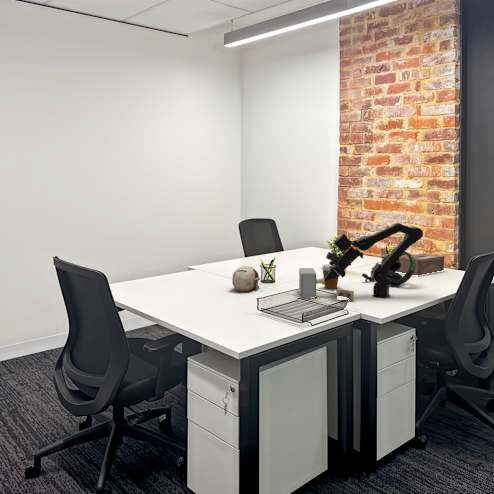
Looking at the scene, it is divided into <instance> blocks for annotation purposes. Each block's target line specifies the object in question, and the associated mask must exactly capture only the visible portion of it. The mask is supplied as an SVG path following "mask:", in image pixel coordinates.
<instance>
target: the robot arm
mask: <svg viewBox="0 0 494 494" xmlns="http://www.w3.org/2000/svg"><path fill="white" fill-rule="evenodd" d="M397 233H402V234H404V236H403V239H402V240H401V241H400V242H399V244H398V245H396V247H395V248H394V249H393V251H392V252H390V253H389V254H388V255H389V256H388V257H387V258H386V259H385V260H384V262H382V261H381V263H378V262H376V263H375V264H374V266H373V267H371V271H370V277H372V278H373V279H374V280H375V281H374V282H375V283H374V284H373V287H372V288H373V289H372V290H373V291H372V292H373V295H372V297H378V298H383V299H385V298H388V297H390V296H391V294H390V285H389V283H390V281H389V280H388V279H387V278H386V276H387V274H388V272H389V269H390V268H391V266H392V265H393V264H394V263H395V262H396V261H397V260H398V259H399V258H400V256H401V255H402V254H403V253H404V252H407V250H408V249H409V248H410V247H411V246H412V245H414V244H416V243H417V242H418V241H420V240H421V239H422V238H423V236H424V232H423V229H422V228H419V227H416V226H407V225H404V224H402V223H399V222H395V223H394V224H393V225H389V226H388V227H386V228H383V229H382V230H379V231H377V232H376V233H374V234H370V235H365V236H362V237H358V238H357V239H356V240H355V239H354V240H351V239H350V238H348V236H346V234H344V233H342V235H340V236H338V237H337V238H336V239H334V241H333V244H334V245H335V246H336V248H338V250H340V252H344V253H343V254H340V255H338V253H335V252H330V251H328V252H327V254H326V257H325V258H326V259H327V260H329V262H328V264H331V265H332V266H330V270H329V272H328V274H327V275H326V277H325V278H324V277H323V278H324V281H328V280H331V279H333V278H336V277H338V278H339V277H341V279H343V278H344V277H345V276H346V273H347V272H346V269H347V268H348V267H349V266H350V267H351V266H352V263H353V262H355V260H356V259H358V257H360V258H361V259H364V252H365V251H368V250H369V249H371V248H372V247H374V245H376V244H377V243H378V242H381V241H382V240H384V239H386V238H389V237H391V236H393V235H395V234H397ZM361 251H362V252H361ZM401 257H402V256H401Z"/></svg>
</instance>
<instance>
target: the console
mask: <svg viewBox="0 0 494 494" xmlns="http://www.w3.org/2000/svg"><path fill="white" fill-rule="evenodd" d="M298 271H299V272H298V276H299V277H298V281H299V282H298V289H300V292H299V295H301V296H300V298H301V299H312V298H311V297H315V296H316V297H317V284H316V279H317V272H316V271H315V269H314V267H300V268H299V270H298Z"/></svg>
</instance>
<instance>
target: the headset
mask: <svg viewBox="0 0 494 494" xmlns="http://www.w3.org/2000/svg"><path fill="white" fill-rule="evenodd" d="M389 255H390V254H388V255H386V256H384V258H383V259H382V261H381V263H382V262H384V260H385V259H386V258H387V257H388V256H389ZM412 255H413V254H411V253H410V252H407V251H405V252H404V253H403V254H402V255H401V256H400V257H403V256H408V258H409V269H408V271H407V272H406V274H399V273H397V271H398V270H399V269H400V267H401V263H400V261H399V259H398V260H397V261H396V262H395V263H394V264H393V265H392V266H391V268H390V269H389V272H388V274H387V276H386V278H387V279H388V280H389V281H390V283H389V286H393V287H394V286H401V285H403V284H405V283H406V282H408V281H409V280H410V279H411V278H412V277H413V276H412V275H413V273H414V270H415V265H416V263H415V259H414V257H413V256H412ZM402 275H403V276H402ZM361 277H363V278H364V281H365V282H366V283H368V281H369V282H370V281H372V282H375V280H374V279H373V278H372V277H371V276H368V274H366V273H365V272H364V273H361Z"/></svg>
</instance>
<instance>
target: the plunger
mask: <svg viewBox="0 0 494 494" xmlns="http://www.w3.org/2000/svg"><path fill="white" fill-rule="evenodd" d="M317 284H322V286H323V285H324V277H321V278H316V285H317ZM324 286H325V285H324Z"/></svg>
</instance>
